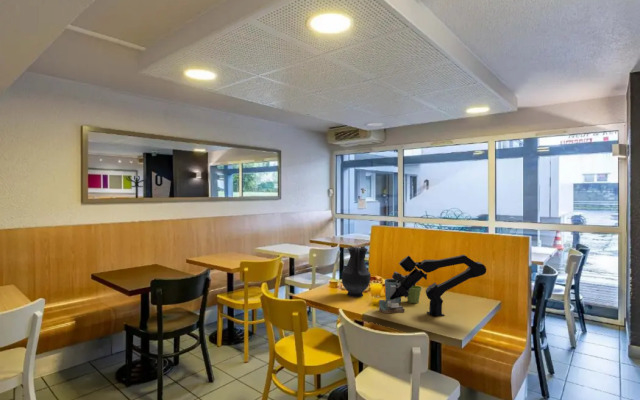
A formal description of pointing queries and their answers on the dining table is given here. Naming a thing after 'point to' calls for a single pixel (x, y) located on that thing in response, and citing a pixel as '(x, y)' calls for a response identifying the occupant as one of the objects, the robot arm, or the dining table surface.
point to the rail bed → (389, 308)
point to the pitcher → (356, 273)
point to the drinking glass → (388, 289)
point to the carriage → (392, 302)
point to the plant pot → (414, 294)
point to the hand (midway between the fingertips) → (390, 298)
